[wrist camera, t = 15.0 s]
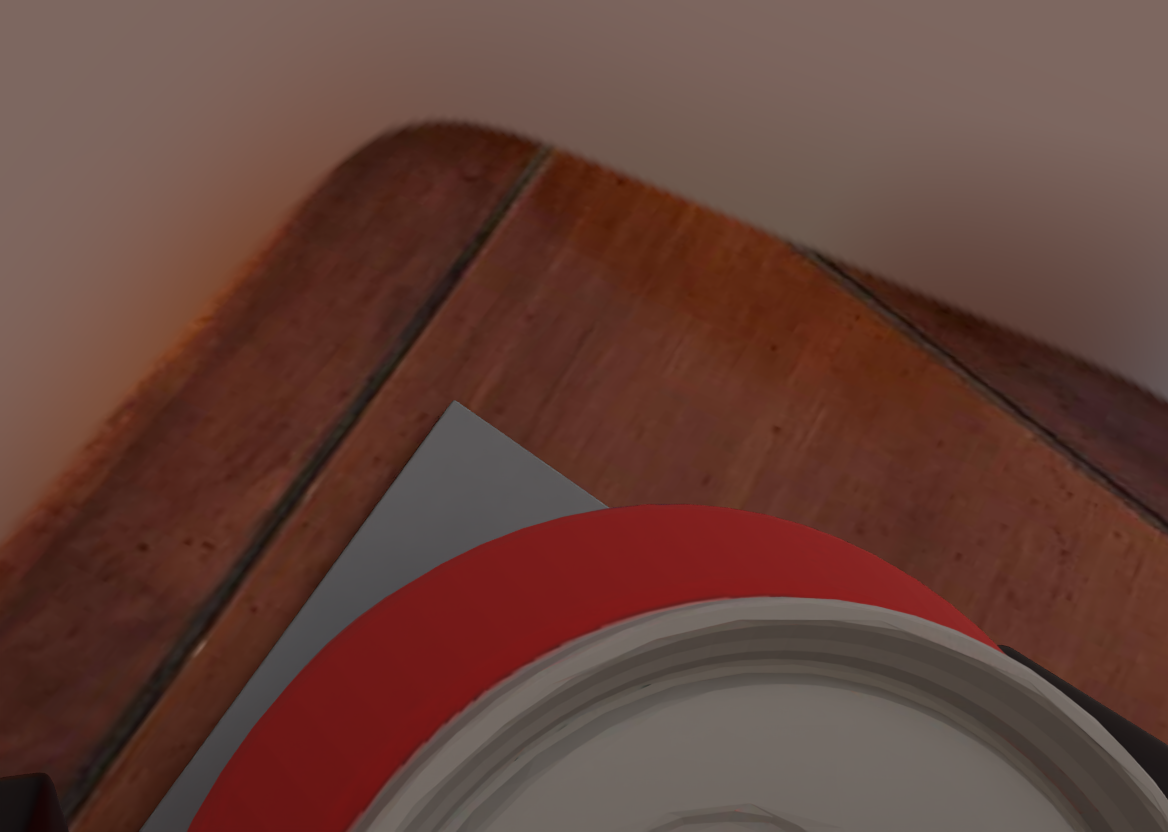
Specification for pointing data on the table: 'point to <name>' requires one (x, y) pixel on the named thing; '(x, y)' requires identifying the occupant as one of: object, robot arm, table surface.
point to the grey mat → (390, 567)
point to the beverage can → (673, 699)
